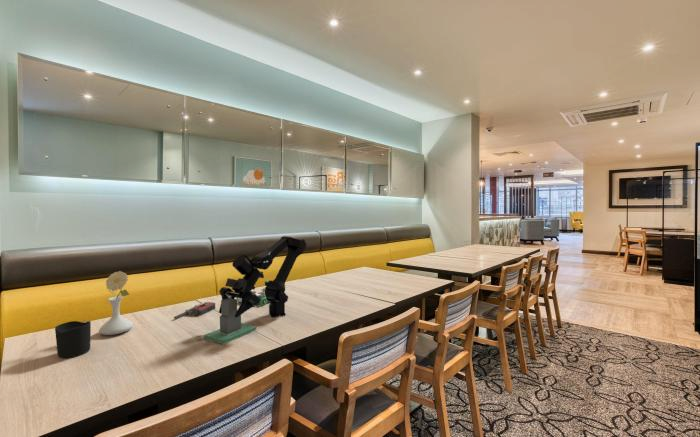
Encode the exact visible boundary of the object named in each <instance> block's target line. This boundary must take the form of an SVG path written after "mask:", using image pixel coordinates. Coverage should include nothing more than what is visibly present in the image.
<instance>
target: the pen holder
mask: <svg viewBox="0 0 700 437" xmlns="http://www.w3.org/2000/svg"><path fill="white" fill-rule="evenodd" d="M91 324H92V321H91V320H89V321H84V322H83V321H76V320H74V321H73V320H70V321H67V322H63V323H60V324H58V325H56V326H55V327H54V331H55V332H54V333H55V341H56V342H55V343H56V350H57V357H59V359H60V358H61V359H71V358H75V357H79V356H83V355H85V354H87V353H88V352H89V351H90V350H91V340H92V339H91V332H92V331H91V330H92V329H91V328H92V327H91Z"/></svg>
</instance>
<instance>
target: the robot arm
mask: <svg viewBox="0 0 700 437" xmlns="http://www.w3.org/2000/svg"><path fill="white" fill-rule="evenodd" d="M306 247H307V242H306V240H304V239H302V238H294V237H291V236H287V235H286V236H285V235H283V236H281V237H280V239H279V240H277V241H276V242H275V243H274V244H273V245H271V246H270V247H269V248H267V249H266V250H265V251H263V252H258V253H257V254H256V255H254V256H253V257H252V258H249V256H248V254H247V253H246V254H245V253H242V254H241V255H239V256H238V257H236V258H235V259H234V260H233V261H232V267H233V268H234V270H236V271H237V272H238V273H240V275H241V276H243V277H242V278H238V279H233V278H227V279H226V282H225V285H224V286H223V287H221V288H220V289H219V291H218V292H219V295H220V296H221V300H224V299H227V298H232V299H236V298H241V299H242V302H240V305H239V307H237V312H236V314H235V317H236V318H237V317H238V316H240V315H241V316H242V315H243V314H244V313H245V312H247V311H249V310H251V309H252V308H255V306H256V307H257V306H259V303H260V298H259V297H258V296H257V295H256V294H255V293H252V292H253V291H255V289H256V287H255V285H256V283H257V282H258V280H259V279H264V278H265V277H264V272H263V271H260V270H265V271H266V270H268V269H269V268H270V266H272V264H273V261H274V260H275V258H276V257H277V256H279V255H280V254H281V253H282V252H283V251H284V250H287V254H286V256H285V258H284V260H283V262H282V264H281V266H280V268H279V270H278V272H277V274H276V276H275V277H274V279H273V280H271V279H270V280H268V281H269V282H268V284H267V286H265V287H264V288H266V289H265V292H264V293H265V295H264V296H266V299H267V302H268V301H270V302H269V304H268V314H269V315H270V317H271V318H276V317H283V316H286V312H285V311H286V310H285V308H286V307H285V306H286V305H285V304H286V303H288V300H289V296H288V295H287V294H286V292H285V291H286V281H287V280H288V277H289V275H290V273H291V271H292V269H293V266H294V264H295V262H296V260H297V259H298V257H299V256H300V255H302V254H303V252H304V251H305V249H306ZM286 248H287V249H286ZM251 291H252V292H251ZM218 313H219V314H221V305H220V307H219V309H218Z"/></svg>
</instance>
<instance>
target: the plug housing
mask: <svg viewBox="0 0 700 437" xmlns="http://www.w3.org/2000/svg"><path fill="white" fill-rule="evenodd" d="M220 306H221V313H220V314H221V315H219V329H220V333H223V334H227V335H228V334H231V333H233V332H235V331H238V330H240V329H241V323H242V314H241V315H240V316H238V317H237V318H236V317H235V314H236V312H237V310H238V301H237V299H236V298H234V299H232V298H227V299H224V300H222V299H221V301H220Z"/></svg>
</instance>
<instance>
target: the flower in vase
mask: <svg viewBox="0 0 700 437" xmlns="http://www.w3.org/2000/svg"><path fill="white" fill-rule="evenodd" d="M105 280H106V282H105V285H106V289H108V292H109V293H111V294H114V295H116V296H112V297H109V298H108V299H107V301H109V303H110V304H111V305H110V306H111V308H112V316H111V317H110V318H109V320H107V321H106V322H105V323H103V324H102V326H101V327H99V330H98V332H99V333H100V334H101V335H106V336H111V335H112V336H113V335H119V334H122V333H125V332H127V331H129V330H131V329H133V328H134V323H133V322H132V321H131V320H129V319H127V318H125V317H123V316H122V315H121V313H120V305H121V302H122V300H123V299H124V297H125V296H129V295H130V293H129V292H128V290H127V289H123V290H122V288H124V287H125V285H126V284H127V282H128V281H129V279H128V274H127V273H125V272H123V271H121V270H118V271H115V272H113V273H111V274H110V275H109V276H108V277H107V279H105ZM118 290H120V291H119V293H117V292H116V291H118Z"/></svg>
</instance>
